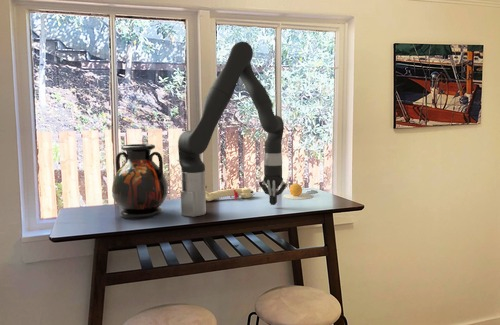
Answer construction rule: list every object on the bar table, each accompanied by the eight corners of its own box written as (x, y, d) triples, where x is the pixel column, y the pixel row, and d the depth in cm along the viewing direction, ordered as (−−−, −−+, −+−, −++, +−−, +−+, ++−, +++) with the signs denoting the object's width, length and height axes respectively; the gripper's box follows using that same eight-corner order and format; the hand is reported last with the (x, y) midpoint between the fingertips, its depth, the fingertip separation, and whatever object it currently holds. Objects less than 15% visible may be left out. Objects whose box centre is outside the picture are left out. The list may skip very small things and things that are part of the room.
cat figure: (205, 206, 191) (257, 198, 199) (203, 187, 189) (255, 179, 197) (200, 202, 200) (250, 194, 208) (198, 184, 199) (248, 176, 207)
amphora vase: (103, 221, 162) (99, 147, 159) (127, 208, 183) (124, 143, 180) (158, 222, 159) (155, 147, 156) (175, 209, 181) (173, 143, 177)
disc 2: (313, 194, 208) (313, 194, 208) (294, 192, 213) (294, 192, 213) (320, 191, 216) (320, 190, 216) (301, 189, 221) (301, 189, 221)
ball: (304, 185, 207) (303, 197, 205) (292, 184, 209) (291, 196, 208) (300, 182, 201) (299, 195, 200) (288, 182, 204) (287, 194, 203)
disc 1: (306, 200, 195) (306, 200, 195) (278, 197, 201) (278, 197, 201) (317, 194, 207) (317, 194, 207) (290, 192, 214) (290, 192, 214)
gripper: (254, 163, 178) (255, 204, 180) (283, 165, 172) (283, 208, 174) (263, 161, 185) (263, 201, 187) (291, 163, 178) (291, 204, 181)
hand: (273, 204), depth 180 cm, fingers closed
